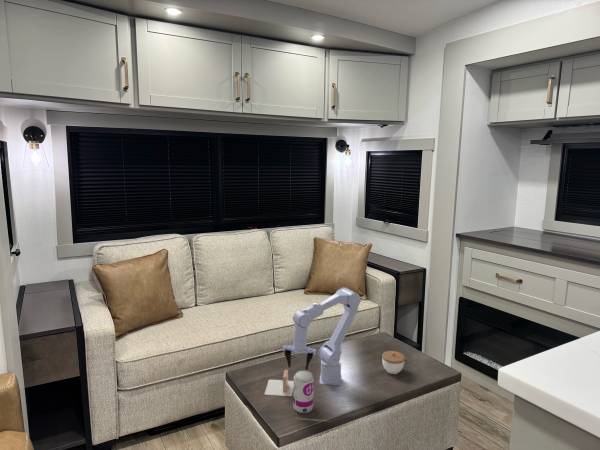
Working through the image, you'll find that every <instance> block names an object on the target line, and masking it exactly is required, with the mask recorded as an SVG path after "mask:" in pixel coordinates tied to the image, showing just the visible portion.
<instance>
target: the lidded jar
mask: <svg viewBox="0 0 600 450" xmlns="http://www.w3.org/2000/svg"><path fill="white" fill-rule="evenodd" d="M381 358H382V359H381V360H382V366H383V368H384V370H385V371H386V372H387V373H388V374H391V375H398V374H399V373H400V372H401V371H402V370H403V369H404V366H405V359H406V356H405V355H404V354H403V353H401V352H399V351H394V350H387V351H383V353H382V355H381Z"/></svg>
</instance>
